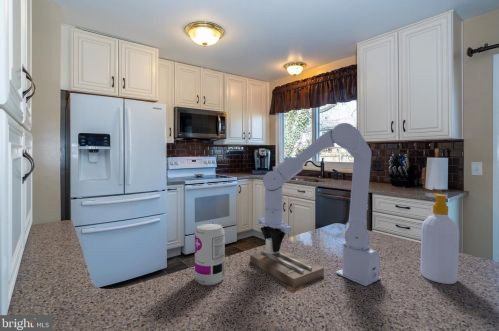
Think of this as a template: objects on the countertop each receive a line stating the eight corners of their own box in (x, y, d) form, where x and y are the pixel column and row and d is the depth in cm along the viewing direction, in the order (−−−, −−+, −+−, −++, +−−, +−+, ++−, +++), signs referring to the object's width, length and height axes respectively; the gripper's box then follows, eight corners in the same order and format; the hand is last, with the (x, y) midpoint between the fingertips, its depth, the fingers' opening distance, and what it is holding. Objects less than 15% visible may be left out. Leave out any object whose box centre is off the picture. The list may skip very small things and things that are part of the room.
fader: (281, 254, 84) (281, 238, 84) (270, 257, 81) (271, 241, 81) (275, 251, 86) (275, 236, 86) (265, 254, 84) (265, 238, 84)
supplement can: (196, 288, 68) (195, 231, 67) (194, 274, 75) (194, 223, 75) (226, 284, 70) (226, 229, 69) (221, 271, 78) (221, 221, 77)
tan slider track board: (323, 276, 75) (323, 265, 75) (293, 288, 68) (294, 276, 68) (277, 254, 91) (277, 245, 91) (250, 262, 84) (250, 252, 84)
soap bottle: (447, 271, 78) (450, 193, 77) (463, 286, 69) (467, 198, 68) (415, 268, 80) (417, 192, 80) (426, 282, 71) (429, 196, 70)
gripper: (250, 206, 87) (250, 246, 87) (279, 214, 75) (278, 260, 76) (266, 204, 91) (266, 242, 92) (296, 211, 79) (296, 255, 80)
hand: (273, 250), depth 84 cm, fingers closed on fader, 2 cm apart
